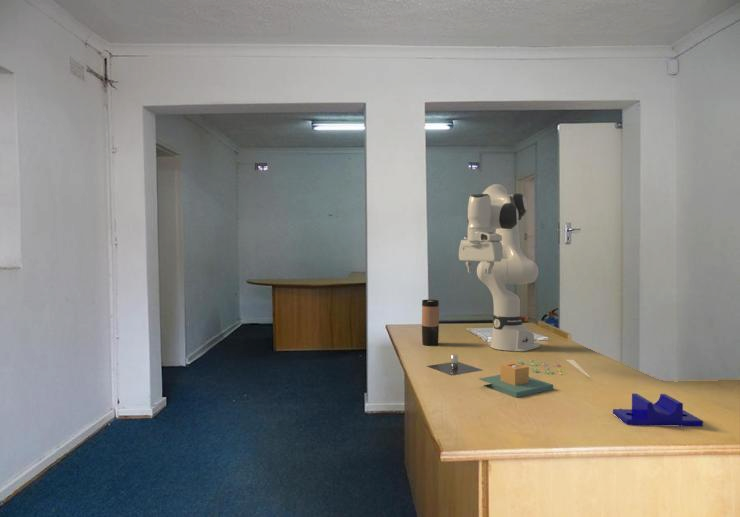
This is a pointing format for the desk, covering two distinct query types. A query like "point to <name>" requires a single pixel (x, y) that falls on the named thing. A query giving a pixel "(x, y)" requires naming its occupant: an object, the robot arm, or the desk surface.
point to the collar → (514, 374)
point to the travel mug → (430, 322)
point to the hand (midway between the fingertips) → (479, 273)
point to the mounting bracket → (657, 412)
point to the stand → (454, 367)
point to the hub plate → (517, 386)
